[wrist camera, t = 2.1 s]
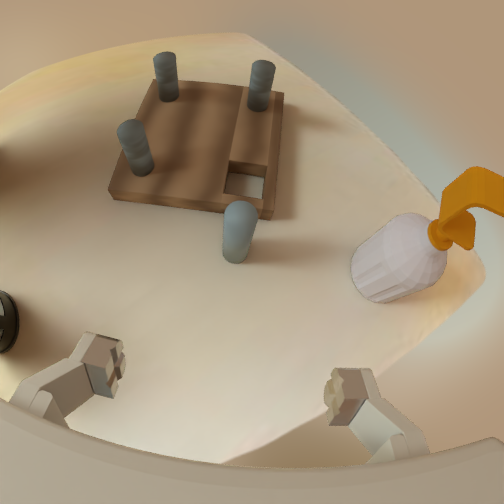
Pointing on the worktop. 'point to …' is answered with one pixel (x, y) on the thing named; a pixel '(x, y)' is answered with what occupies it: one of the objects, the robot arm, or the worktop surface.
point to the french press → (8, 322)
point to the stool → (200, 141)
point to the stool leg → (238, 230)
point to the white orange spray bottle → (424, 239)
